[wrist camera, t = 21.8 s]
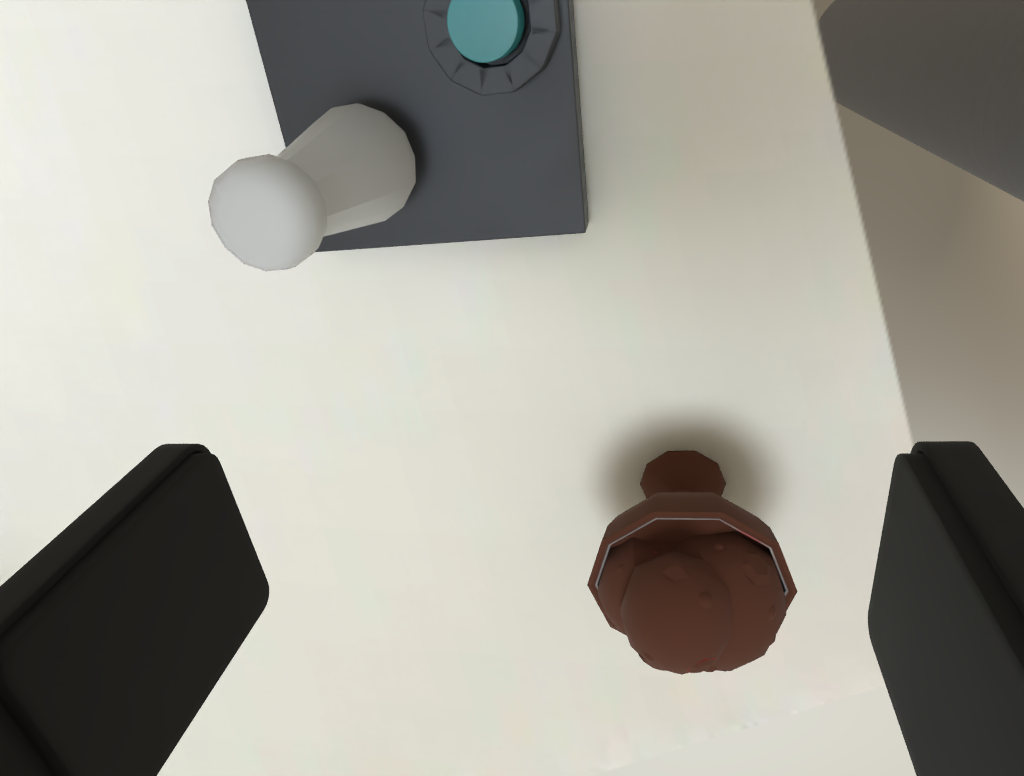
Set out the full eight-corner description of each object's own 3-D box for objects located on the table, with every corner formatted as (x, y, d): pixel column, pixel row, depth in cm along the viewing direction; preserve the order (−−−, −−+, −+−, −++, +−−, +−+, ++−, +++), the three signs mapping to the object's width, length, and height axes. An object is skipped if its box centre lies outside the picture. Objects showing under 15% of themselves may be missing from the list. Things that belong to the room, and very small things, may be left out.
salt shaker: (415, 90, 34) (300, 131, 23) (438, 204, 37) (345, 289, 26) (311, 107, 35) (154, 153, 24) (341, 215, 38) (212, 301, 27)
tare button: (520, -25, 30) (513, -27, 28) (528, 55, 31) (522, 58, 30) (451, -14, 30) (441, -15, 29) (462, 64, 32) (453, 67, 30)
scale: (567, -76, 31) (558, -85, 28) (588, 223, 38) (583, 242, 35) (258, -23, 35) (220, -26, 32) (326, 242, 41) (301, 261, 38)
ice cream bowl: (586, 525, 48) (561, 713, 35) (626, 395, 43) (614, 563, 30) (732, 563, 48) (762, 769, 35) (793, 435, 42) (855, 626, 29)
